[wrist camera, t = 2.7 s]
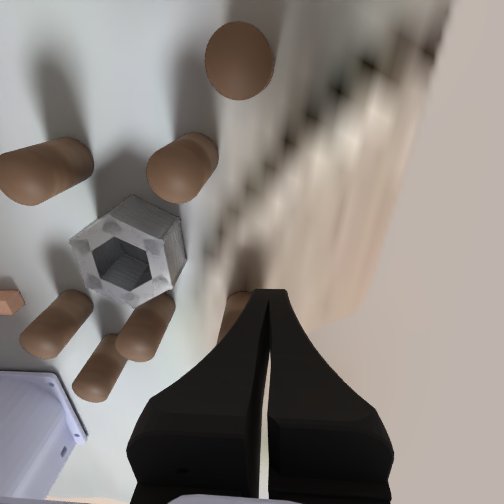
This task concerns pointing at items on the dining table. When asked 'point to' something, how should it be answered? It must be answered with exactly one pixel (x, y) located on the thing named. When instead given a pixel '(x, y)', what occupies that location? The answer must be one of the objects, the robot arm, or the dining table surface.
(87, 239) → the steel nut
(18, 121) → the dining table surface
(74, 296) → the walnut spacers
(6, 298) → the parts bay
